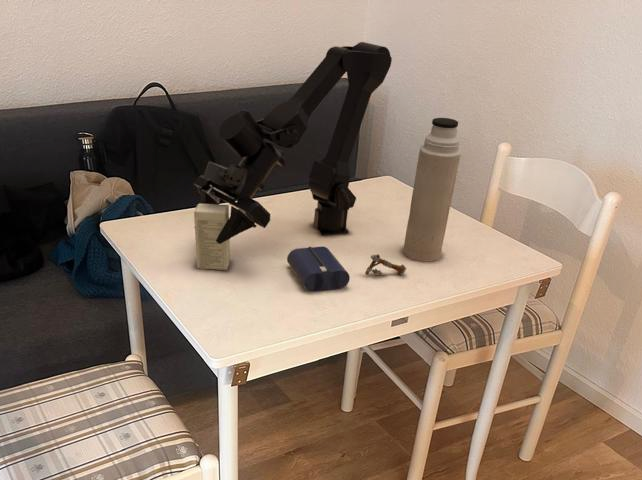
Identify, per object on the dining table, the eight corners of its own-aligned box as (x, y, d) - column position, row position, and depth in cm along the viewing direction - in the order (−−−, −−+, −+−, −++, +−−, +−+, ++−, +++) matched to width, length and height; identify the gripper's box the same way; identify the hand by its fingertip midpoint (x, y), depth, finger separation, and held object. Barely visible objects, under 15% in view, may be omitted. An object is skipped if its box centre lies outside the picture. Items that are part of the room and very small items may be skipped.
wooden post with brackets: (360, 270, 135) (371, 250, 133) (392, 282, 138) (403, 263, 136) (363, 274, 133) (374, 254, 131) (395, 286, 137) (407, 267, 135)
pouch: (329, 263, 139) (330, 244, 137) (348, 288, 130) (351, 268, 128) (286, 267, 137) (287, 247, 134) (303, 292, 128) (305, 272, 126)
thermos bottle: (440, 248, 147) (466, 116, 132) (440, 263, 141) (468, 127, 125) (403, 243, 149) (425, 112, 133) (402, 259, 142) (424, 123, 126)
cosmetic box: (230, 261, 138) (230, 204, 131) (227, 271, 134) (227, 213, 127) (199, 259, 138) (198, 202, 131) (195, 268, 135) (193, 210, 128)
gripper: (201, 133, 131) (154, 199, 131) (260, 159, 119) (209, 231, 120) (233, 166, 140) (189, 228, 140) (291, 193, 128) (244, 260, 128)
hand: (206, 236), depth 132 cm, fingers closed on cosmetic box, 7 cm apart
